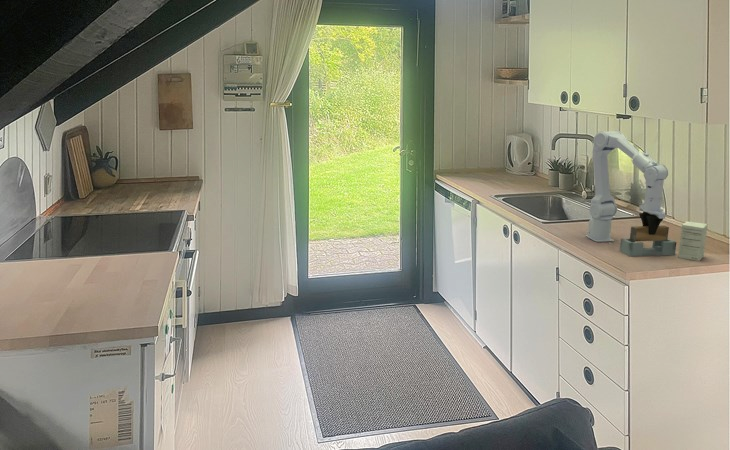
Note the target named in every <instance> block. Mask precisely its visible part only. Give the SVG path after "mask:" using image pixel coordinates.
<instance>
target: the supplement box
mask: <svg viewBox="0 0 730 450" xmlns="http://www.w3.org/2000/svg"><path fill="white" fill-rule="evenodd" d="M708 225H709V224H708V223H702V222H695V221H694V222H693V221H685V222H684V223H683V224H682V225H681V232H680V241H679V249H678V259H679V258H680V259H684V260H689V261H697V262H700V261H701V260H702V259H703V258H704V256H705V248H706V242H707V240H706V239H707V231H708Z"/></svg>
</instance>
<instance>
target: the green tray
mask: <svg viewBox="0 0 730 450" xmlns="http://www.w3.org/2000/svg"><path fill="white" fill-rule="evenodd" d="M676 248H677V241H676V240H673V239H671V238H668V240H662V241H652V247H644V242H643V241H632V240H630V237H627V238H624V237H623V238H620V246H619V252H620V253H622V254H624V255H626V256H628V257H648V256H649V257H651V256H676V251H677V250H676Z"/></svg>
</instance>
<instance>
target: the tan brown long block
mask: <svg viewBox="0 0 730 450" xmlns="http://www.w3.org/2000/svg"><path fill="white" fill-rule="evenodd" d="M669 230H670V227H669V226H667V225H659V226H658V228H657V231H656V233H655V235H650V234H649V226H643V225H642V226H641V225H640V226H637V225H636V226H630V234H629V238H630V240H632V241H635V242H653V241H662V240H668V239H669V232H670V231H669Z"/></svg>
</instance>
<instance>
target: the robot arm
mask: <svg viewBox="0 0 730 450" xmlns="http://www.w3.org/2000/svg"><path fill="white" fill-rule="evenodd" d="M592 140H593V148H592V162H593V163H592V164H593V165H592V167H593V179H594V192H595V195H594V196H593V197H592V198H591V200H590V206H589V214H590V219H589V221H588V226H587V227H588V229H587V234H585V237H587V238H588V239H590V240H592V241H594V242H595V243H596V242H597V243H600V242H615V239H613V238H611V233H612V221H613V219H614V216H616V214H617V213H618V207H617V203H616V201H615V199H616V198H614V196H613V195H612V194H611V192H610V191H611V190H610V175H609V161H608V155H609V154H610V153H611V152H612V151H613V150H615V149H619V150H620V151H621V152H622V153H624V154H625V155H627V156H628V157H629V158H631V159H632V160H631V161H632V165H634V167H635V168H637V169H638V170H639V171H640V172H641V173H643V179H644V180H645V181H644V182H645V183H644V184H645V190H644V191H645V192H644V193H645V194H644V203H643V205H642V204H641V205H640V204H639V205H638V211H639V212H640V213H639V217H640V220H641V223H642V226H649V234H650V235H655V233H656V231H657V228H658V226H660V224H661V223H662V222H663V220H665V219H666V213H665V212H664V208H662V201H663V200H662V199H663V192H664V191H663V190H664V184H665V183H664V182H665V180H666V179H667V178H668V176H669V169H668V168H667V167H666V165H664V164H659V163H658V162H657V161H656V160H654V159H653V158H651V156H650V154H649V153H648V152H645V151H643V152H642V151H641V152H640V151H639V150H638V149H637V148H636V147H635V146H634V145H633V144H632V143H630V141H629V140H628V139H627V138H626V135H625V134H623V133H622V132H621V131H620V130H611V131H609V130H608V131H599V132H597V133H596V134H595V136H593V139H592ZM641 212H642V213H641Z"/></svg>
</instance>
